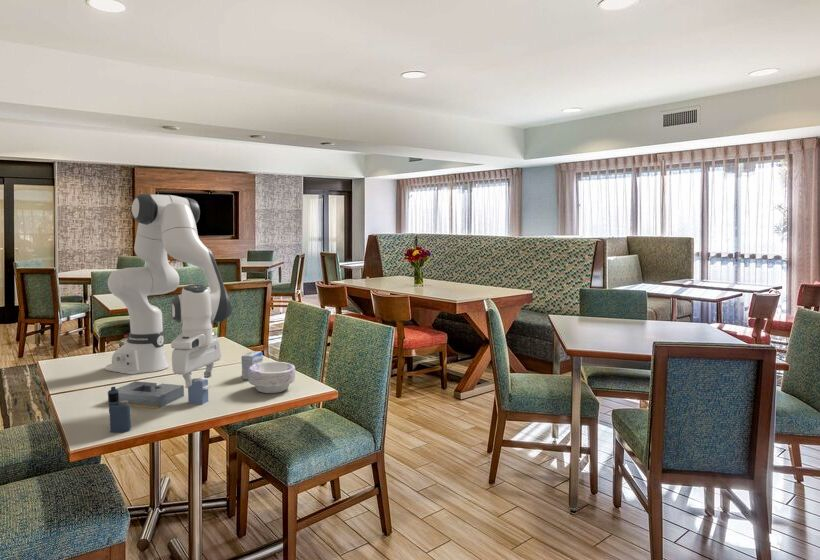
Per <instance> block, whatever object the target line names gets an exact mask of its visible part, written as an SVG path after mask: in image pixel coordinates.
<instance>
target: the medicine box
mask: <svg viewBox="0 0 820 560" xmlns="http://www.w3.org/2000/svg"><path fill="white" fill-rule="evenodd" d="M263 362H264V359H263V351H256V350H255V351H250V352H248V353H246V354H244V355H242V356H241V379H242V380H248V381H249V368H250V366H252V365H254V364H258V363H263Z"/></svg>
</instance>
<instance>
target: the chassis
mask: <svg viewBox="0 0 820 560" xmlns="http://www.w3.org/2000/svg"><path fill="white" fill-rule="evenodd" d="M116 389H117V390H118V394H119V403H120V401H122V400H128V404H129V406H130V407H137V408H143V409H144V408H146V409H160V408H162V407H165V406H167V405H169V404H171V403H173V402H175V401H177V400H179V399H181V398H182V397H184V396H185V394H184V393H185V386H184V385H182V384H169V383H159V384H157V383H156V382H147V381H136V380H135V381H133V382H130V383H127V384H125V385H122V386H119V387H118V388H116ZM106 404H107V405H109V394H108V393H107V402H106Z"/></svg>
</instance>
